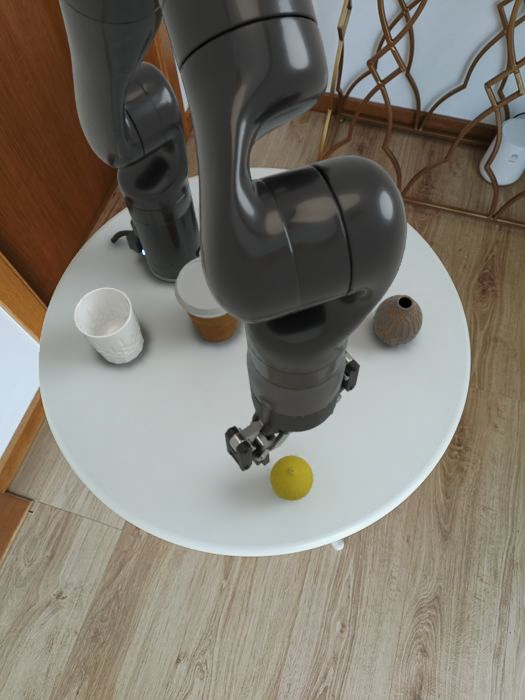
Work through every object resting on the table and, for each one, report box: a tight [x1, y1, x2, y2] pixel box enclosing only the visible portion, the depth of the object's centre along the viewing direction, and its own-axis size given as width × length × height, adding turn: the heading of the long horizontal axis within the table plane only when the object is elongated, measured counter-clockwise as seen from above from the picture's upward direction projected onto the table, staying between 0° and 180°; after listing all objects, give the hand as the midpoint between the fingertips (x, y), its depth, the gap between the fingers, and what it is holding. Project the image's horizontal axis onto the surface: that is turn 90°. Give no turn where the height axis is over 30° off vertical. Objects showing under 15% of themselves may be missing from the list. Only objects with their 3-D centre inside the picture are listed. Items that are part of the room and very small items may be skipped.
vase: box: [372, 294, 424, 347], centre depth 77 cm, size 7×7×9 cm
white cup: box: [73, 286, 145, 365], centre depth 77 cm, size 8×8×10 cm
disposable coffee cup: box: [174, 257, 239, 343], centre depth 77 cm, size 10×10×12 cm
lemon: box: [269, 455, 314, 502], centre depth 68 cm, size 6×6×8 cm
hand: (292, 432), depth 57 cm, fingers open, 8 cm apart
